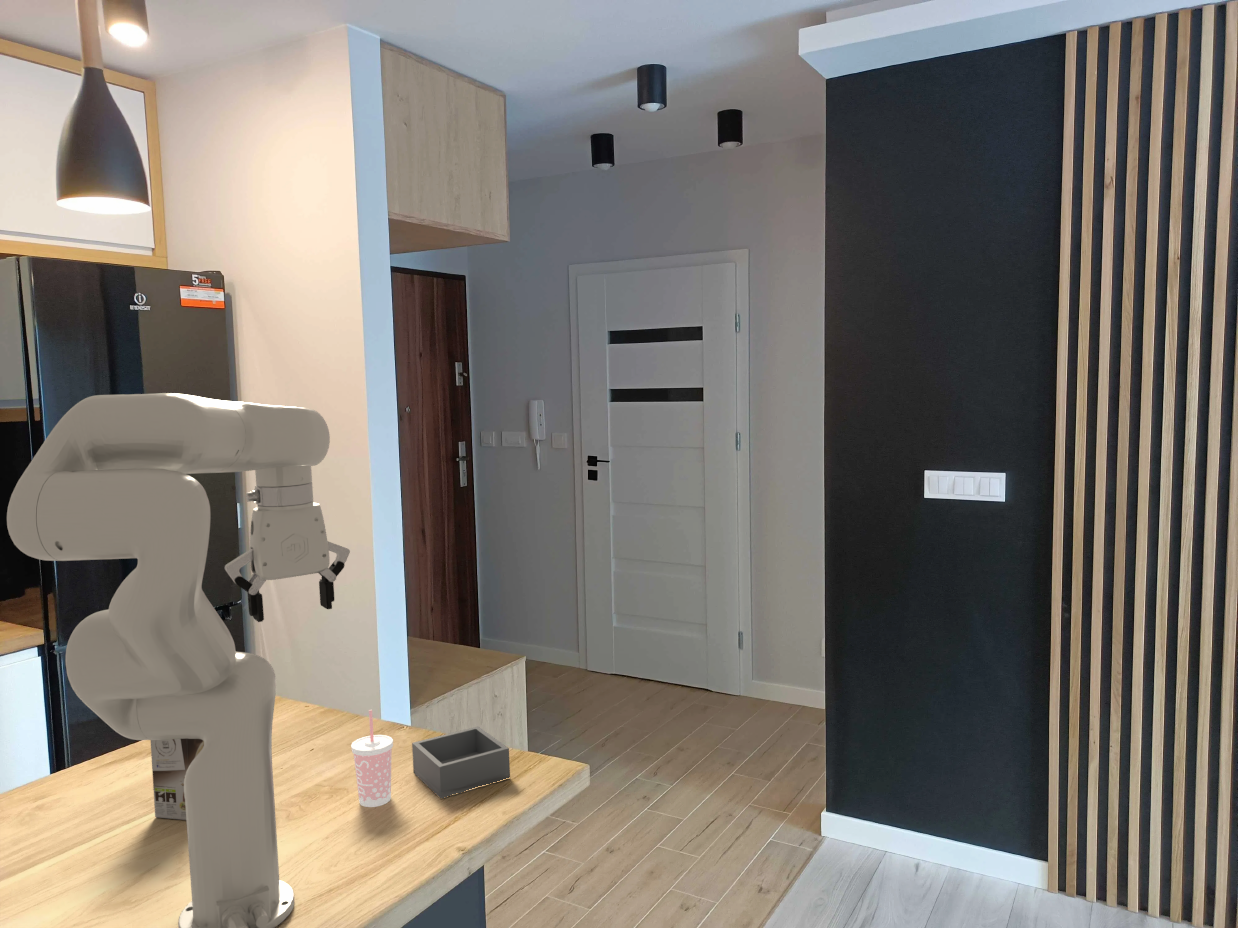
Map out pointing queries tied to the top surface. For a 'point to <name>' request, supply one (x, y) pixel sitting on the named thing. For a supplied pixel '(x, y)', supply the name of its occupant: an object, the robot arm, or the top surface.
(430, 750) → the crate
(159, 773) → the coffee box
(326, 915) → the top surface
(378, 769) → the beverage cup
